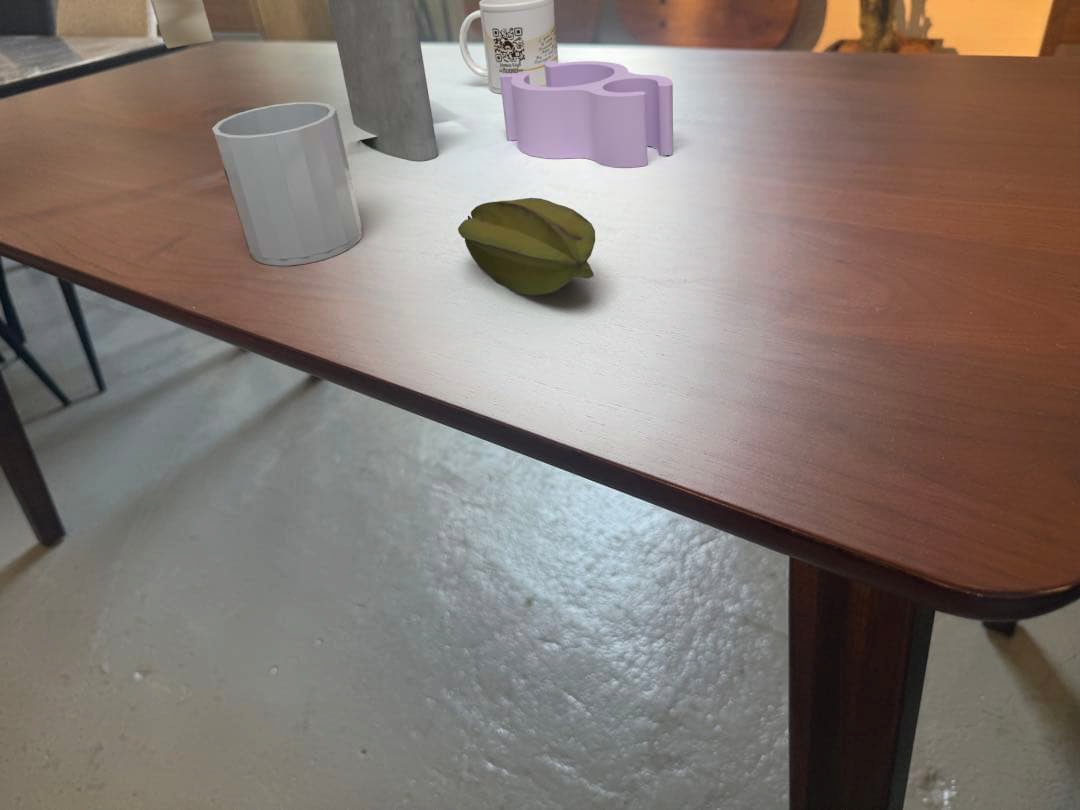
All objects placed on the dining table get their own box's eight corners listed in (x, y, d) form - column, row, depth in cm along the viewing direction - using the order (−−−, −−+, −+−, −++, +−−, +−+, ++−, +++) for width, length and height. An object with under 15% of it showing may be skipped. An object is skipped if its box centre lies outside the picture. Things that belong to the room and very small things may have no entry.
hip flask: (443, 155, 95) (411, -47, 84) (412, 165, 93) (375, -41, 82) (375, 130, 106) (339, -51, 95) (345, 139, 104) (305, -45, 93)
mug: (513, 99, 113) (504, 8, 107) (462, 87, 121) (450, 2, 115) (574, 81, 118) (568, -7, 112) (521, 71, 126) (512, -12, 120)
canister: (260, 276, 72) (221, 145, 66) (242, 238, 80) (205, 118, 74) (375, 246, 75) (348, 118, 69) (347, 212, 83) (320, 95, 77)
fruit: (610, 250, 70) (606, 170, 66) (594, 321, 60) (588, 232, 56) (474, 253, 72) (463, 176, 68) (436, 322, 62) (421, 236, 58)
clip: (699, 143, 90) (699, 75, 86) (615, 177, 84) (612, 105, 80) (569, 116, 103) (565, 56, 100) (488, 144, 97) (480, 80, 93)
